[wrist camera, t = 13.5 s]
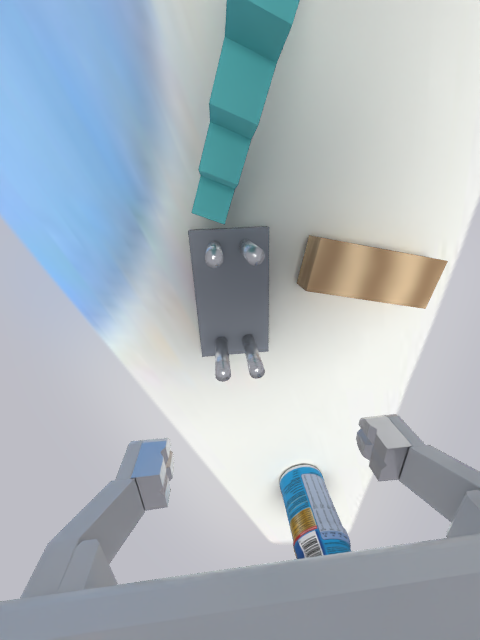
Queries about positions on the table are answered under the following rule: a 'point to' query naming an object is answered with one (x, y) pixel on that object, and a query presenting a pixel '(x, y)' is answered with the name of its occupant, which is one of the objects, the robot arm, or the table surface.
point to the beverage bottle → (312, 514)
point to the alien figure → (239, 96)
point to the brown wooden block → (368, 273)
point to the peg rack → (232, 294)
